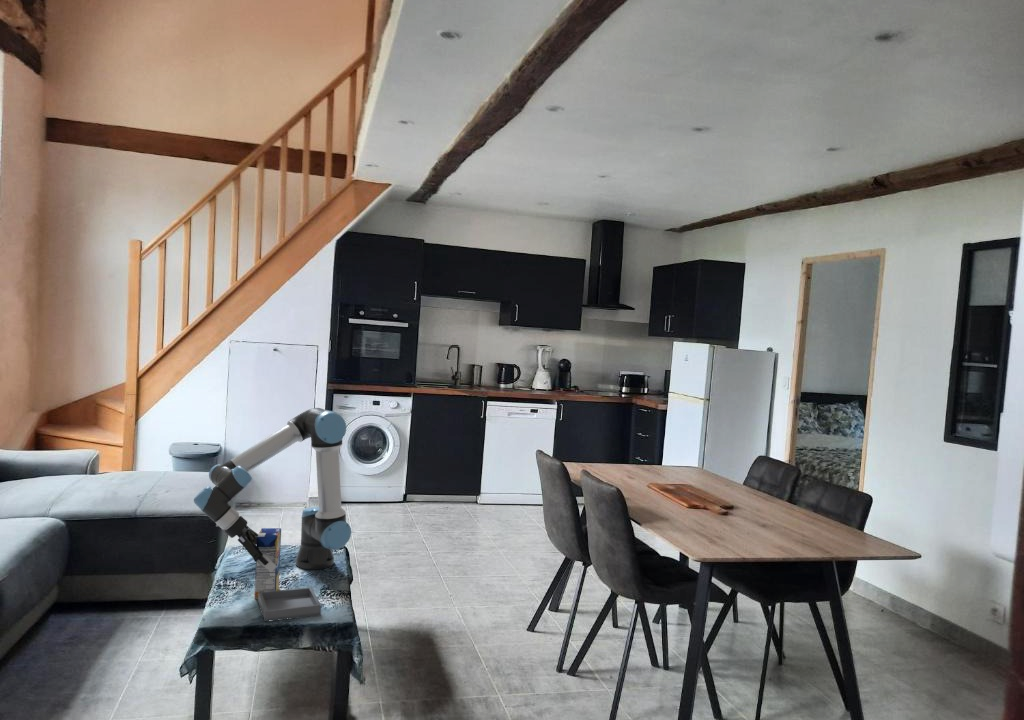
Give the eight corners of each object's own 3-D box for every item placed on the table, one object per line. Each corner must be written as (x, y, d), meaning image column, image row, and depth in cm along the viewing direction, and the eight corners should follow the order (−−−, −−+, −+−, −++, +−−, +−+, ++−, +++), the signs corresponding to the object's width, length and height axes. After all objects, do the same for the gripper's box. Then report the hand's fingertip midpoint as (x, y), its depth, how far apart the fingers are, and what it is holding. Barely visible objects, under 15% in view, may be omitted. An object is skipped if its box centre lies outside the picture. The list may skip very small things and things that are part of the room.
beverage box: (254, 598, 257) (256, 536, 256) (259, 587, 268) (261, 528, 267) (274, 598, 258) (277, 536, 257) (278, 587, 269) (281, 528, 268)
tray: (310, 596, 261) (311, 587, 261) (320, 615, 245) (321, 605, 245) (258, 602, 254) (258, 592, 253) (264, 622, 237) (265, 611, 237)
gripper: (227, 521, 270) (268, 559, 275) (219, 540, 246) (264, 582, 251) (243, 506, 271) (283, 545, 276) (236, 524, 247) (281, 566, 252)
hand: (274, 563), depth 263 cm, fingers open, 13 cm apart
